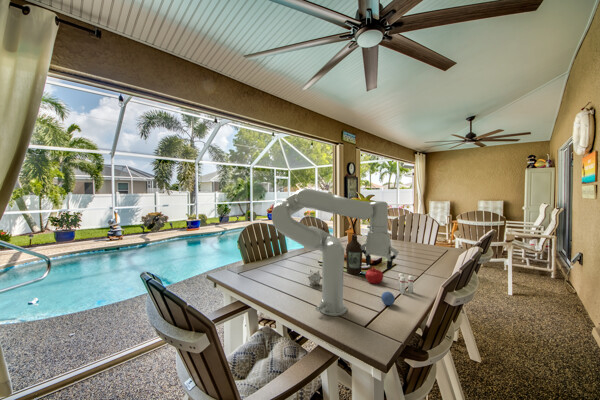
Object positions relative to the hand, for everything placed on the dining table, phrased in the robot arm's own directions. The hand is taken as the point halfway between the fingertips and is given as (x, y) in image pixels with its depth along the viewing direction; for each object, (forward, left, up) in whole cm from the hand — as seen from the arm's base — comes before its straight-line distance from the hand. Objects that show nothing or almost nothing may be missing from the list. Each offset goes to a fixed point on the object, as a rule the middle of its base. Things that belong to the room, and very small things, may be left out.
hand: (378, 267), depth 106 cm
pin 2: (+30, -3, -20) cm, 36 cm away
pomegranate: (+29, +17, -20) cm, 39 cm away
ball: (+8, -1, -17) cm, 19 cm away
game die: (+1, +39, -20) cm, 44 cm away
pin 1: (+30, +2, -20) cm, 36 cm away
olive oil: (+34, +34, -20) cm, 52 cm away
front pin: (+25, -1, -20) cm, 32 cm away
